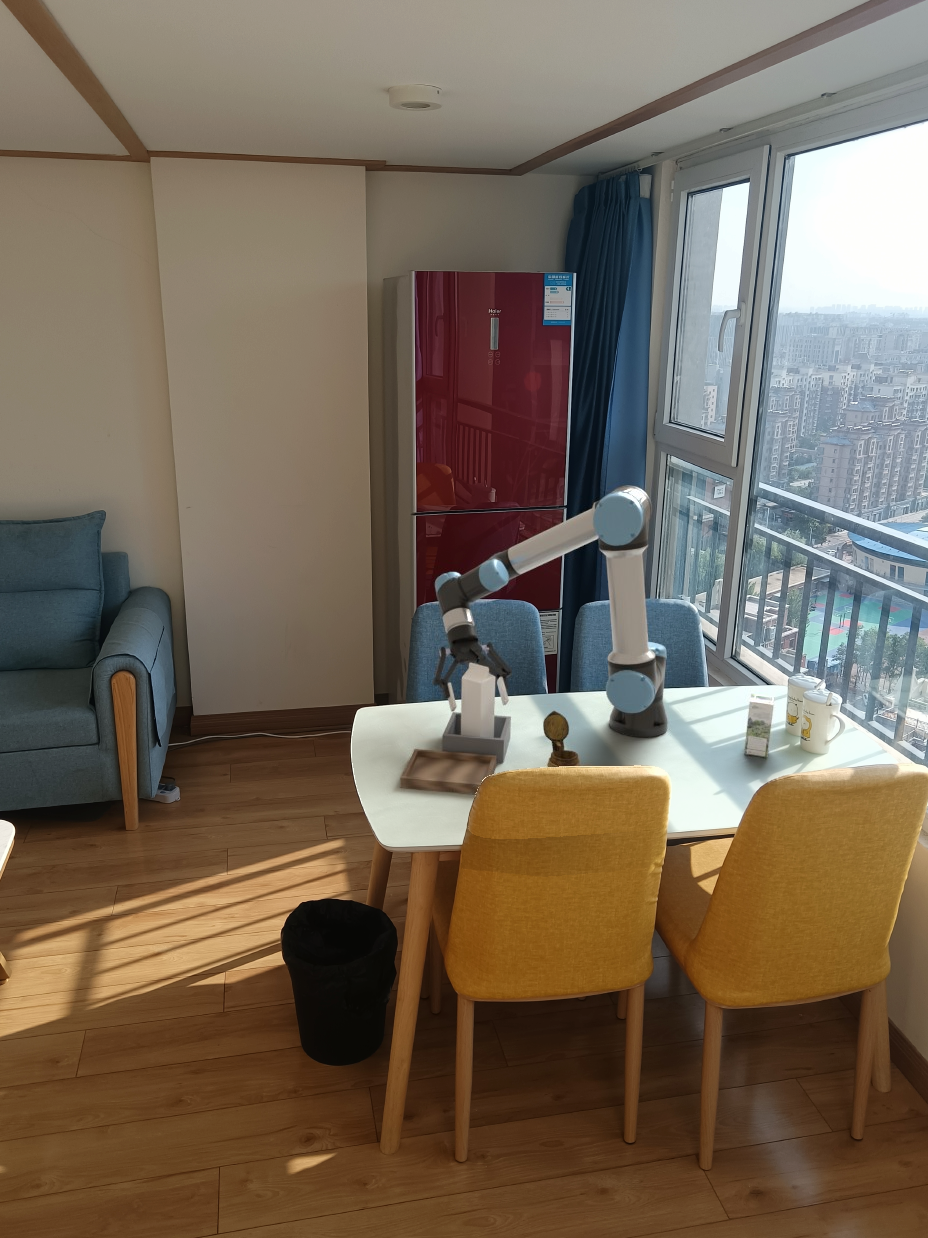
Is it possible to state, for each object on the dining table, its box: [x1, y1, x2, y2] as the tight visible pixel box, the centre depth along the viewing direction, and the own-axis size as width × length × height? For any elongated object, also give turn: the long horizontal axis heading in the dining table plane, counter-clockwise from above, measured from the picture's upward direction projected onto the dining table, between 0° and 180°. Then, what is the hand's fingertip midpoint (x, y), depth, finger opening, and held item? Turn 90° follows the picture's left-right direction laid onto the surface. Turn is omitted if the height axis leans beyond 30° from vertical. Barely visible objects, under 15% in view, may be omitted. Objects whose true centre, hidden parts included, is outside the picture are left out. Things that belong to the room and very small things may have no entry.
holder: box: [441, 711, 512, 764], centre depth 243 cm, size 15×15×6 cm
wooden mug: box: [542, 710, 581, 768], centre depth 217 cm, size 9×14×18 cm, turn 13°
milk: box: [460, 663, 496, 738], centre depth 241 cm, size 6×6×22 cm
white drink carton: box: [743, 693, 775, 758], centre depth 242 cm, size 6×6×14 cm
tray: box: [399, 748, 497, 795], centre depth 228 cm, size 20×16×2 cm
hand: (480, 706), depth 239 cm, fingers open, 13 cm apart
